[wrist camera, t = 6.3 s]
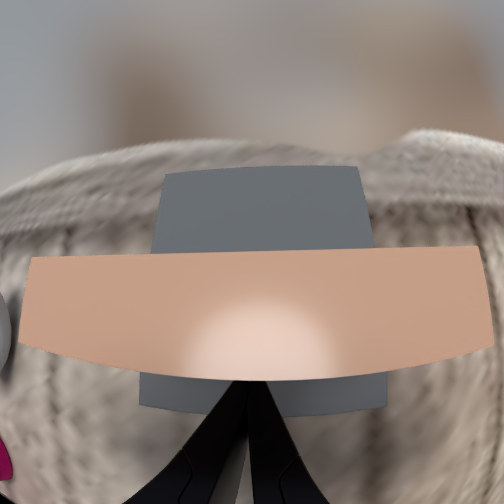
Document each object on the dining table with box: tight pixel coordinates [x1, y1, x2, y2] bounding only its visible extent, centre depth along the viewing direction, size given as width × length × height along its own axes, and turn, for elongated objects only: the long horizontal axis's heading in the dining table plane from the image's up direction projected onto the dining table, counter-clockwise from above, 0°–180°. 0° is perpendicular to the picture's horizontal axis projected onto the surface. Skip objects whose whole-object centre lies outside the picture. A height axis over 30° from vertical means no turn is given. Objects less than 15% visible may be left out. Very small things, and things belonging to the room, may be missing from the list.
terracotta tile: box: [18, 246, 494, 381], centre depth 10 cm, size 3×12×11 cm, turn 89°
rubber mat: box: [139, 166, 387, 417], centre depth 17 cm, size 17×15×1 cm
